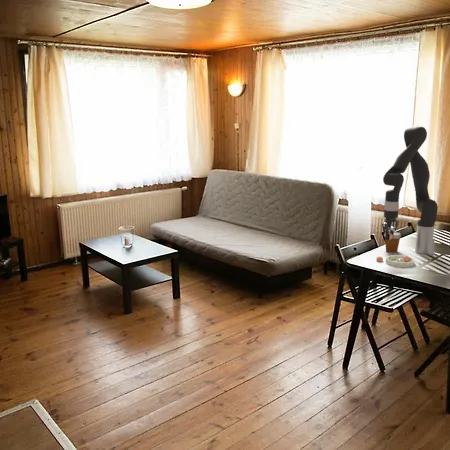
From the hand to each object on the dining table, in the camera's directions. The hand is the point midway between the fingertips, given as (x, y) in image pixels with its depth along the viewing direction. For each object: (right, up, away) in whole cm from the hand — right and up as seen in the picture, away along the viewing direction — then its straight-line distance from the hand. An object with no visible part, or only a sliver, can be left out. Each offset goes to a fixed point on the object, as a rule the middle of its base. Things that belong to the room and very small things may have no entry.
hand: (389, 239), depth 263 cm
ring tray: (+5, -14, -1) cm, 15 cm away
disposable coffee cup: (+9, -9, +21) cm, 24 cm away
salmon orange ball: (+9, -13, 0) cm, 16 cm away
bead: (0, 0, 0) cm, 0 cm away
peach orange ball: (-5, -13, +3) cm, 14 cm away
